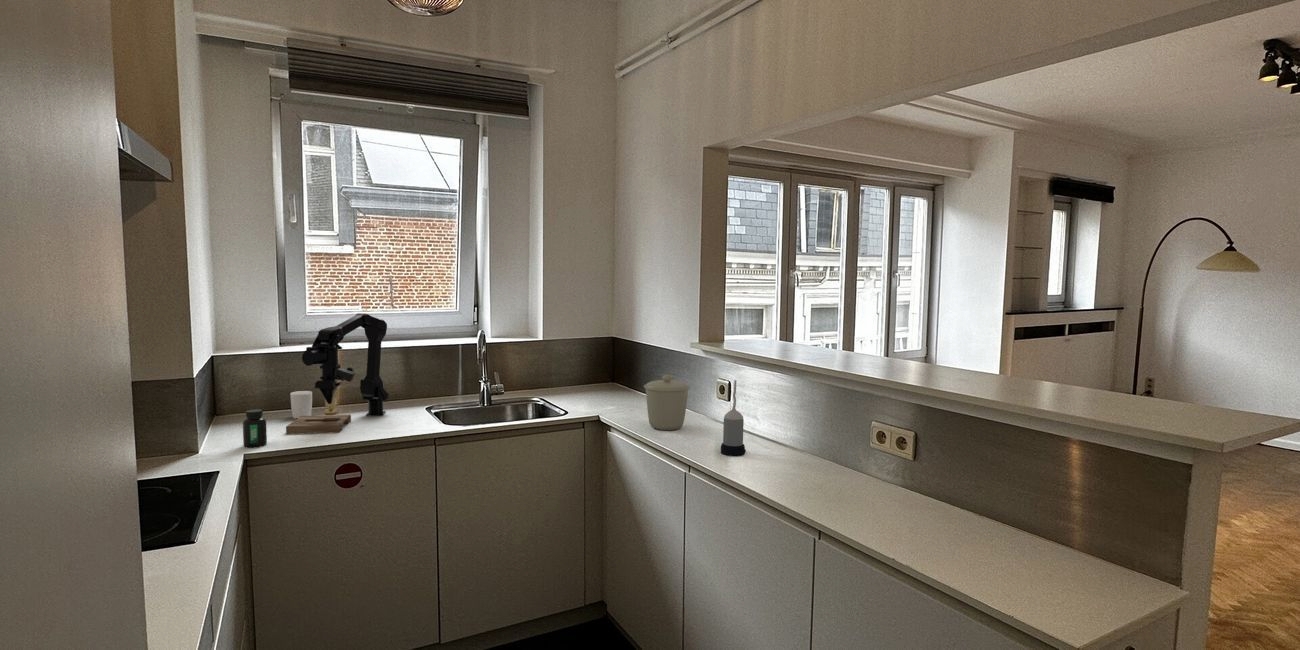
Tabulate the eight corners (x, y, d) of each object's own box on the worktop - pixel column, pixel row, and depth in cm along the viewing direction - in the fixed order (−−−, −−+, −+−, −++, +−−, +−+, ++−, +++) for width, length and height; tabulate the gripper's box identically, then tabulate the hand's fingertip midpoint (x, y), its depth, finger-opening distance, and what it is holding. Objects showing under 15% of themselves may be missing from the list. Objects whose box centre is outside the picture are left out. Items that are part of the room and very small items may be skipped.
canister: (638, 423, 264) (639, 371, 262) (681, 421, 269) (682, 370, 267) (650, 434, 246) (651, 378, 245) (695, 431, 251) (696, 377, 250)
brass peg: (326, 412, 251) (325, 389, 250) (338, 412, 252) (338, 388, 251) (323, 415, 247) (322, 391, 246) (335, 414, 248) (335, 390, 247)
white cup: (291, 415, 267) (290, 391, 267) (312, 414, 271) (312, 390, 270) (290, 419, 260) (290, 395, 260) (313, 418, 264) (312, 393, 263)
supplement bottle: (257, 448, 219) (256, 413, 218) (238, 447, 219) (237, 412, 218) (271, 443, 226) (270, 409, 225) (253, 442, 226) (251, 408, 225)
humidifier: (750, 454, 221) (752, 381, 219) (731, 457, 217) (733, 383, 215) (734, 448, 228) (736, 377, 226) (715, 451, 224) (717, 379, 221)
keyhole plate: (301, 422, 256) (301, 415, 255) (350, 421, 259) (350, 414, 259) (286, 434, 238) (285, 426, 238) (339, 432, 242) (339, 424, 242)
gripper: (346, 365, 240) (347, 407, 242) (358, 358, 258) (359, 397, 260) (313, 366, 238) (315, 408, 239) (327, 359, 256) (328, 398, 257)
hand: (330, 402), depth 249 cm, fingers closed on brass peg, 3 cm apart
